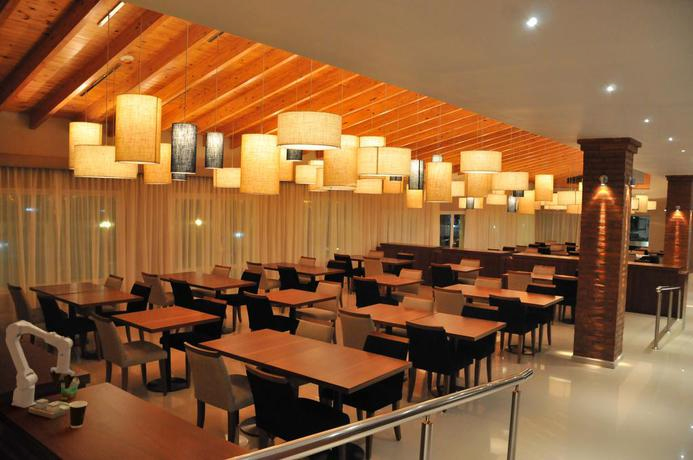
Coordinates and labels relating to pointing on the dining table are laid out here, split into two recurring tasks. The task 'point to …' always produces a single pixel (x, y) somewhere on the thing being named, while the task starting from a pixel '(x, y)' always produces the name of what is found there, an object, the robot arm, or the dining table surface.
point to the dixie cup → (77, 413)
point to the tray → (63, 405)
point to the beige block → (41, 404)
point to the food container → (69, 390)
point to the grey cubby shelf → (45, 413)
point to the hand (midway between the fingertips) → (61, 387)
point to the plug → (53, 407)
